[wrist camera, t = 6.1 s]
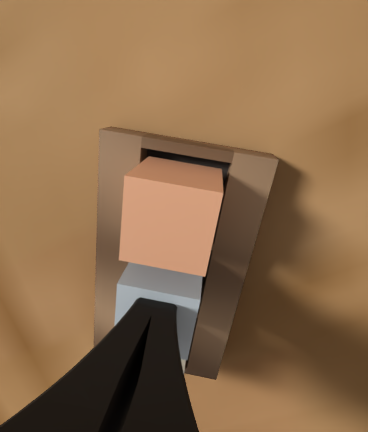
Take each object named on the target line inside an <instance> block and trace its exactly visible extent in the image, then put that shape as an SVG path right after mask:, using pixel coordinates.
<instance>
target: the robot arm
mask: <svg viewBox="0 0 368 432" xmlns="http://www.w3.org/2000/svg"><path fill="white" fill-rule="evenodd" d="M0 432H199V430H198V427H197V424H196V420H195V417H194V413H193V410H192V406H191V403H190V399H189V395H188V391H187V386H186V382H185V378H184V373H183V368H182V363H181V357H180V350H179V344H178V336H177V306H176V305H175V304H172V303H167V302H162V301H157V300H152V299H147V298H142V297H139V298H138V299H136V301H135V302H134V303H133V305H132V306H131V307H130V309H129V310H128V311H127V312H126V313H125V315H124V316H123V317H122V318H121V319H120V321H119V322H118V323H117V324H116V325H115V326H114V327H113V328H112V329H111V330H110V332H109V333H108V334H107V335H106V336H105V337H104V338H103V339H102V340H101V341H100V342H99V343H98V344H97V345H96V346H95V347H94V348H93V349H92V350H91V351H90V352H89V353H88V354H87V355H86V356H85V357H84V358H83V359H82V360H81V361H80V362H78V363H77V364H76V365H75V366H74V367H73V368H72V369H71V370H70V371H69V372H67V373H66V374H65V375H64V376H63V377H62V378H60V379H59V380H58V381H57V382H56V383H55V384H53V385H52V386H51V387H50V388H49V389H47V390H46V391H45V392H44V393H42V394H41V395H40V396H39V397H37V398H36V399H35V400H33V401H32V402H31V403H30V404H28V405H27V406H26V407H24V408H23V409H22V410H20V411H19V412H18V413H17V414H15V415H14V416H12V417H11V418H10V419H8V420H7V421H6V422H4V423H3V424H2V425H0Z"/></svg>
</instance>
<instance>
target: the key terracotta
mask: <svg viewBox="0 0 368 432" xmlns="http://www.w3.org/2000/svg"><path fill="white" fill-rule="evenodd" d="M222 197H223V177H222V169H220V168H214V167H208V166H203V165H197V164H191V163H185V162H179V161H174V160H168V159H162V158H156V157H151V156H149V157H147V158H146V159H145V160H144V161H142V162H141V163H140V164H138V165H137V166H136V167H135V168H133V169H132V170H131V171H129V172H128V173H127V174H126V175H124V188H123V204H122V219H121V235H120V250H119V260H121V261H126V262H131V263H136V264H141V265H146V266H152V267H157V268H162V269H167V270H172V271H177V272H183V273H188V274H193V275H198V276H203V277H205V276H206V271H207V267H208V262H209V258H210V253H211V248H212V244H213V239H214V234H215V230H216V225H217V221H218V216H219V211H220V207H221V202H222Z"/></svg>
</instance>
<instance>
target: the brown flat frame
mask: <svg viewBox="0 0 368 432" xmlns="http://www.w3.org/2000/svg"><path fill="white" fill-rule="evenodd" d="M149 156H151V157H156V158H162V159H168V160H174V161H179V162H185V163H191V164H197V165H203V166H208V167H214V168H220V169H222V177H223V197H222V202H221V207H220V211H219V216H218V221H217V225H216V230H215V234H214V239H213V244H212V248H211V253H210V258H209V262H208V267H207V271H206V276H205V277H202V288H201V299H200V304H199V309H198V314H197V318H196V323H195V327H194V332H193V337H192V341H191V346H190V351H189V355H188V360H186V363H185V371H184V373H186V374H191V375H196V376H200V377H205V378H210V379H215V380H216V378H217V375H218V371H219V368H220V364H221V361H222V357H223V354H224V350H225V347H226V343H227V340H228V336H229V333H230V329H231V326H232V322H233V319H234V315H235V312H236V308H237V305H238V301H239V298H240V294H241V291H242V287H243V284H244V280H245V277H246V273H247V270H248V266H249V263H250V259H251V256H252V252H253V249H254V245H255V242H256V238H257V235H258V231H259V228H260V224H261V221H262V217H263V214H264V210H265V207H266V203H267V200H268V196H269V193H270V189H271V186H272V182H273V179H274V175H275V172H276V168H277V165H278V161H279V160H278V159H277V158H276V157H275V156H274V155H273V154H269V153H264V152H258V151H252V150H246V149H240V148H234V147H228V146H222V145H216V144H210V143H205V142H199V141H193V140H187V139H181V138H175V137H169V136H163V135H157V134H151V133H146V132H140V131H134V130H128V129H122V128H116V127H107V128H103V129H99V163H98V202H97V241H96V279H95V318H94V347H95V346H96V345H97V344H98V343H99V342H100V341H101V340H102V339H103V338H104V337H105V336H106V335H107V334H108V333H109V332H110V330H111V329H112V328H113V327H114V323H115V308H116V292H117V283H118V281H119V279H120V277H121V276H122V274H123V272H124V270H125V269H126V267H127V265H128V263H129V262H126V261H121V260H119V250H120V235H121V219H122V204H123V188H124V175H126V174H127V173H128V172H129V171H131V170H132V169H133V168H135V167H136V166H137V165H138V164H140V163H141V162H142V161H144V160H145V159H146V158H147V157H149Z"/></svg>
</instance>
